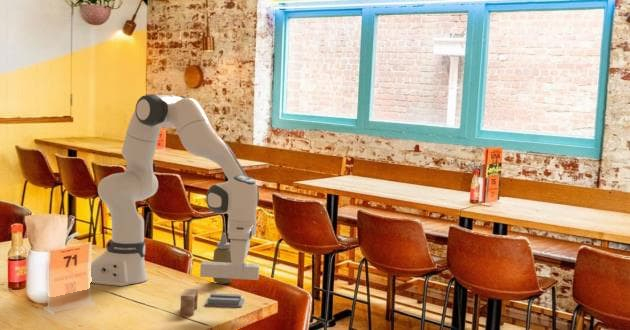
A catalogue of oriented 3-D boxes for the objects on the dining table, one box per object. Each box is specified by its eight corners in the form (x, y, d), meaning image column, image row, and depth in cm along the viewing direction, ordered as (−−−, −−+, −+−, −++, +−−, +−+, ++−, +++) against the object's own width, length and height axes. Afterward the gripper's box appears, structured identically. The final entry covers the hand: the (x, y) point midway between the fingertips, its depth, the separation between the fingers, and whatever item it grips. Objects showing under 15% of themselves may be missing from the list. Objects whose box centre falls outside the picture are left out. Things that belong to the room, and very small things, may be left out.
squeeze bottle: (229, 286, 265) (231, 236, 263) (208, 283, 267) (209, 234, 265) (236, 280, 273) (238, 232, 271) (215, 278, 275) (216, 230, 273)
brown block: (180, 314, 231) (180, 295, 231) (184, 306, 239) (185, 288, 238) (193, 315, 231) (193, 296, 231) (197, 307, 239) (197, 289, 238)
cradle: (204, 305, 241) (204, 299, 241) (208, 298, 249) (208, 292, 249) (241, 307, 241) (241, 301, 241) (244, 300, 249) (244, 294, 249)
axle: (200, 276, 232) (200, 264, 231) (201, 273, 236) (202, 261, 235) (257, 279, 232) (258, 267, 232) (258, 276, 236) (259, 264, 235)
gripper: (235, 221, 242) (233, 262, 244) (227, 234, 222) (225, 279, 224) (255, 222, 242) (253, 263, 244) (248, 235, 222) (246, 280, 224)
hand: (239, 271), depth 234 cm, fingers closed on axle, 4 cm apart
